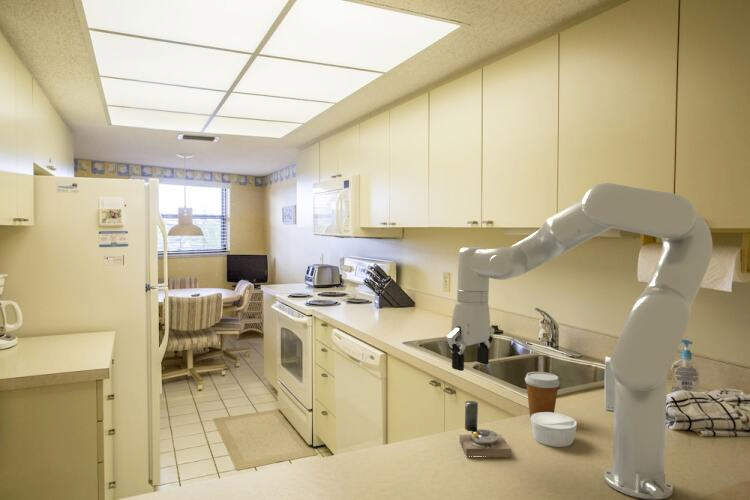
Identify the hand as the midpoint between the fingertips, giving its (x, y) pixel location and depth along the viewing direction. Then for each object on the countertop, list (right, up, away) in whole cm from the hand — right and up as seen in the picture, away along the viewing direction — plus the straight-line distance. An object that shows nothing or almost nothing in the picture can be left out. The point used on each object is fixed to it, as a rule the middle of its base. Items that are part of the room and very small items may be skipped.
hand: (470, 366), depth 123 cm
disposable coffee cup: (+24, -19, +19) cm, 36 cm away
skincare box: (+49, -19, +28) cm, 60 cm away
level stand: (+3, -20, -3) cm, 20 cm away
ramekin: (+22, -20, +4) cm, 30 cm away
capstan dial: (+2, -17, -2) cm, 17 cm away
